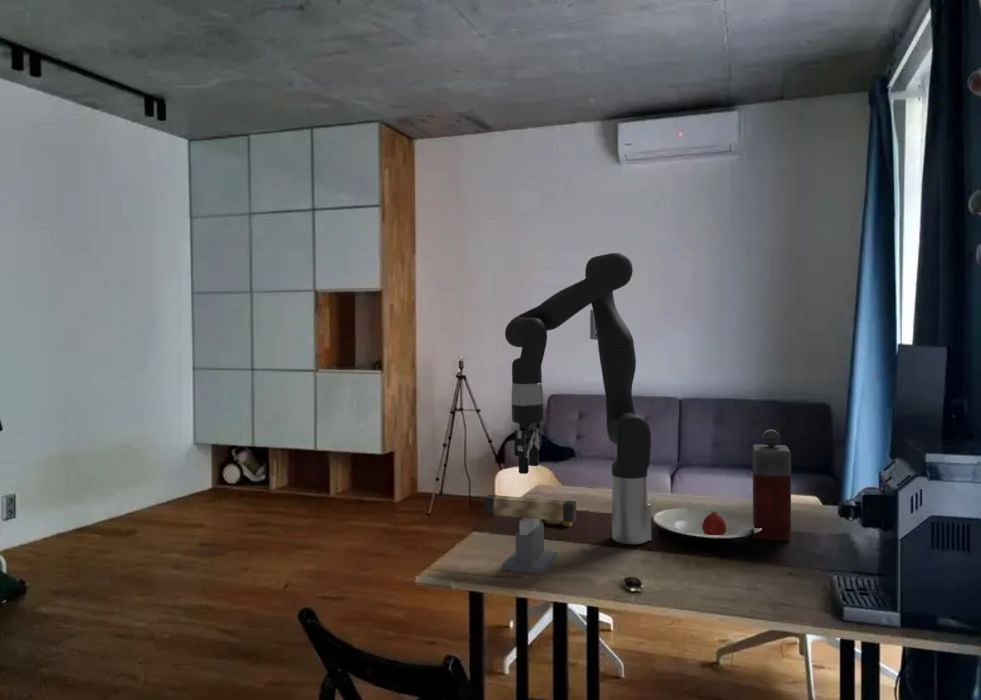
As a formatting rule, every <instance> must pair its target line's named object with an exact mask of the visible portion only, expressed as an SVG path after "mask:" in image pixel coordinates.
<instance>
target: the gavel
mask: <svg viewBox="0 0 981 700" xmlns="http://www.w3.org/2000/svg"><path fill="white" fill-rule="evenodd" d="M540 523H544V524H549V525H558V526H563V527H567V528H570V527H572V526H573V524H574V522H566V521H557V520H546V519H540Z"/></svg>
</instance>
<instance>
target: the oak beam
mask: <svg viewBox="0 0 981 700" xmlns="http://www.w3.org/2000/svg"><path fill="white" fill-rule="evenodd" d="M483 500H484V503H483V504H484V505H483V507H484V508H483V509H484V515H489V516H501V517H502V516H503V517H514V518H515V517H516V518H522V519H523V518H535V519H546V520H557V521H566V522H573V523H574V522H575V521H576V519H577V501H576V500H561V499H549V498H535V497H522V496H511V495H510V496H509V495H498V494H487V495H485V496H484V497H483Z"/></svg>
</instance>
